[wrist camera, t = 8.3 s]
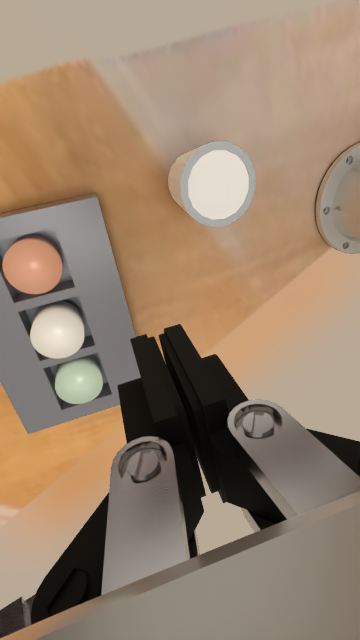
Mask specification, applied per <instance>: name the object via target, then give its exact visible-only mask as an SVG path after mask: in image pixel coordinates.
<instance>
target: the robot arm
mask: <svg viewBox="0 0 360 640" xmlns="http://www.w3.org/2000/svg"><path fill="white" fill-rule="evenodd" d="M316 222H317V226H318V229H319V232H320V234H321V236H322V237H323V239H324V240H325V241H326V242H327V243H328V244H329V245H330V246H331V247H333V248H334V249H336V250H339V251H342V252H345V253H360V142H359V143H357V144H355V145H353V146H351V147H350V148H349V149H347V150H346V151H344V152H343V153H342V154H341V155H340V156H339V157H338V158H337V159H336V160H335V161H334V163H333V164H332V165H331V167H330V168H329V170H328V171H327V173H326V175H325V177H324V179H323V181H322V183H321V186H320V189H319V191H318V196H317V201H316ZM159 338H160V343H161V346H162V350H163V354H164V358H165V361H164V359H163V357H162V354H161V352H160V349H159V347H158V345H157V342H156V340H155V338H154V337H150V338H148V337H147V335H146V334H145V335H141V336H138V337H135V338H131V339H130V341H131V344H132V348H133V351H134V355H135V358H136V362H137V365H138V369H139V373H140V376H141V378H138V379H135V380H132V381H128V382H125V383H122V384H119V385H118V386H117V387H118V393H119V399H120V405H121V411H122V417H123V423H124V428H125V434H126V440H127V444H126V445H125V446H124V447H123V448H122V449H121V450H120V451H119V452H118V453H117V454H116V456H115V458H114V459H113V463H112V467H111V476H110V489H109V493H108V494H107V496H106V497H105V498H104V500H103V501H102V502H101V504H100V505H99V506H98V508H97V509H96V510H95V512H94V513H93V514H92V516H91V517H90V518H89V520H88V521H87V522H86V524H85V525H84V526H83V528H82V529H81V530H80V532H79V533H78V534H77V535H76V537H75V538H74V540H73V541H72V542H71V544H70V545H69V546H68V548H67V549H66V550H65V551H64V553H63V554H62V555H61V557H60V558H59V560H58V561H57V562H56V563H55V565H54V566H53V567H52V569H51V570H50V571H49V573H48V574H47V575H46V577H45V578H44V580H43V582H42V583H41V585H40V587H39V588H38V590H37V593H36V594H35V595H33V596H32V597H30V598H29V599H27V600H26V601H25V600H24V599H23V597H20V598H19V599H17V600H16V601H14V602H12V603H11V604H9V605H8V606H6V607H5V608H3V609H1V610H0V640H360V442H359V441H355V440H351V439H346V438H342V437H338V436H334V435H330V434H326V433H322V432H317V431H313V430H309V429H305V428H304V427H303V426H302V425H301V424H300V423H299V422H298V421H297V420H295V419H294V418H293V417H292V416H291V415H290V414H289V413H288V412H287V411H285V410H284V409H283V408H282V407H280V406H279V405H277V404H276V403H273V402H270V401H267V400H248V399H247V397H246V396H245V394H244V393H243V391H242V390H241V389H240V387H239V386H238V384H237V383H236V382H235V380H234V379H233V377H232V376H231V374H230V373H229V372H228V370H227V369H226V368H225V366H224V364H223V363H222V362H221V360H220V359H219V357H218V356H217V355H216V354H214V355H211V356H208V357H204V358H201V357H200V355H199V354H198V352H197V350H196V349H195V347H194V346H193V344H192V342H191V341H190V339H189V337H188V336H187V334H186V332H185V331H184V329H183V328H182V326H181V325H180V324H178V325H175V326H172V327H168V328H165V329H164V334H160V335H159ZM165 362H166V364H165ZM197 458H198V461H199V463H200V466H201V468H202V471H203V474H204V476H205V479H206V481H207V483H208V486H209V489H210V491H211V493H214V492H217V491H218V492H219V494H220V496H221V499H222V501H223V503H225V502H228V503H231V504H234V505H236V506H239V507H241V508H242V511H243V514H244V515H245V518H246V519H247V521H248V522H249V524H250V526H251V527H252V529H253V530H254V531H255V533H253V534H251V535H248V536H245V537H243V538H241V539H238V540H236V541H233V542H231V543H228V544H226V545H223V546H221V547H218V548H216V549H213V550H211V551H209V552H206V553H204V554H201V555H200V553H199V546H198V540H197V535H196V532H195V529H196V527H197V524H198V523H199V520H200V519H201V517H202V515H203V512H204V509H203V505H202V501H201V497H204V496H206V494H205V489H204V485H203V481H202V477H201V473H200V469H199V465H198V461H197Z"/></svg>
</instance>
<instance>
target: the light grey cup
mask: <svg viewBox="0 0 360 640" xmlns="http://www.w3.org/2000/svg"><path fill="white" fill-rule="evenodd" d="M255 182H256V174H255V171H254V168H253V164H252V161H251V159H250V158H249V157H248V155H247V154H246V153H245V152H244V151H243V149H242V148H241V147H239V146H237V145H234V144H232V143H230V142H228V141H217V142H210V143H207V144H205V145H203V146H200V147H198V148H196V149H193V150H191V151H189V152H187V153H185V154H183V155H181V156H179V157H178V158H177V160H176V161H175V162H174V163H173V165H172V166H171V169H170V172H169V175H168V189H169V191H170V193H171V196H172V198H173V200H174V201H175V202H176V203H178V204H179V205H180V206H181V207H182V208H183V209H184V210H185V211H186V212H187V213H188V214H189V215H190V216H191V217H192V218H194V219H195V220H196V221H197V222H198V223H200V224H203V225H206V226H209V227H221V226H227V225H228V224H230V223H232V222H234V221H236V220H238V219H239V218H240V217H241V216H242V215H243V213H244V212H245V211H246V210H247V209H248V208H249V206H250V203H251V201H252V198H253V196H254V193H255Z"/></svg>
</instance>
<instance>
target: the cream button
mask: <svg viewBox="0 0 360 640" xmlns="http://www.w3.org/2000/svg"><path fill="white" fill-rule="evenodd" d="M30 340H31V343H32V345H33V347H34V348H35V349H36V350H37V351H38V352H39V353H40V354H42V355H44V356H46V357H49V358H55V359H60V358H66V357H69V356H71V355H73V354H74V353H76V352H77V351H78V350H79V349H80V348H81V346H82V344H83V342H84V319H83V316H82V314H81V312H80V311H79V309H78V308H77V307H75V306H74V305H72V304H71V303H68V302H65V301H57V302H53V303H49V304H45V305H43V306H41V307H40V308H39V309H38V310H37V312H36V314H35V316H34V320H33V324H32V327H31V331H30Z"/></svg>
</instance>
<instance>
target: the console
mask: <svg viewBox="0 0 360 640" xmlns="http://www.w3.org/2000/svg"><path fill="white" fill-rule="evenodd" d="M27 234H39V235H43V236H46V237H48V238H50V239H51V240H52V241H54V242H55V243H56V244H57V246H58V247H59V248H60V250H61V252H62V256H63V268H62V275H61V278H60V281H59V282H58V284H57V285H56V286H55V287H54V288H53V289H51V290H50V291H48V292H45V293H42V294H28V293H24V292H22V291H20V290H18V289H16V288H15V287H13V286H12V285H11V284H10V283H9V282H8V280H7V279H6V277H5V275H4V272H3V265H2V264H3V258H4V256H5V254H6V252H7V251H8V249H9V248H10V246H11V245H12V244H13V243H14V241H15V240H17V239H18V238H19V237H21V236H24V235H27ZM57 301H65V302H68V303H71V304H72V305H74V306H75V307H77V308H78V309H79V311H80V312H81V314H82V316H83V319H84V342H83V344H82V346H81V348H80V349H79V350H78V351H77V352H76V353H74V354H73V355H71V356H69V357H66V358H60V359H55V358H49V357H46V356H44V355H42V354H40V353H39V352H38V351H37V350H36V349H35V348H34V347H33V345H32V343H31V340H30V331H31V327H32V324H33V320H34V316H35V314H36V312H37V310H38V309H39V308H40V307H41V306H43V305H45V304H49V303H53V302H57ZM135 337H136V335H135V332H134V328H133V324H132V321H131V317H130V314H129V310H128V306H127V303H126V299H125V295H124V292H123V288H122V285H121V281H120V277H119V274H118V270H117V267H116V263H115V259H114V256H113V252H112V249H111V245H110V241H109V238H108V234H107V230H106V227H105V223H104V220H103V216H102V212H101V209H100V205H99V202H98V198H97V195H96V194H95V193H90V194H86V195H81V196H77V197H72V198H68V199H63V200H59V201H54V202H50V203H45V204H40V205H36V206H31V207H27V208H22V209H18V210H13V211H9V212H4V213H0V382H1V384H2V386H3V387H4V389H5V391H6V393H7V395H8V397H9V399H10V401H11V403H12V405H13V406H14V408H15V410H16V412H17V414H18V416H19V418H20V420H21V422H22V424H23V425H24V427H25V429H26V431H27V433H28V434H30V433H33V432H36V431H39V430H43V429H46V428H49V427H52V426H55V425H58V424H61V423H64V422H67V421H71V420H74V419H77V418H80V417H83V416H86V415H89V414H92V413H95V412H98V411H102V410H105V409H108V408H111V407H114V406H117V405H120V399H119V393H118V387H117V386H118V385H119V384H122V383H125V382H128V381H132V380H135V379H138V378H141V376H140V373H139V369H138V365H137V362H136V358H135V355H134V351H133V348H132V344H131V341H130V339H131V338H135ZM91 354H93V355H94V356H95V357H96V358H97V359H98V360H99V362H100V365H101V372H102V380H103V386H102V390H101V392H100V393H99V395H98V396H97V397H96V398H94V399H93V400H91V401H89V402H87V403H83V404H71V403H68V402H66V401H64V400H62V399H61V398H60V397H59V396H58V395H57V393H56V390H55V379H56V368H57V364H60V363H64V362H67V361H70V360H74V359H77V358H81V357H84V356H87V355H91Z"/></svg>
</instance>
